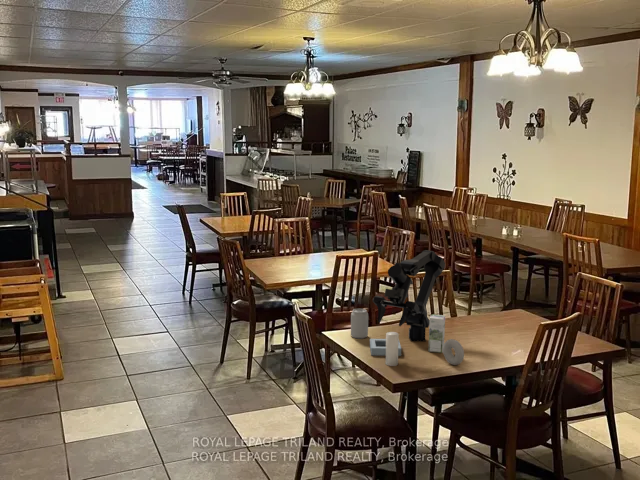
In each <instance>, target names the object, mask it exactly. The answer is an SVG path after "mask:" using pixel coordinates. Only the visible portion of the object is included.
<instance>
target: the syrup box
mask: <svg viewBox="0 0 640 480" xmlns="http://www.w3.org/2000/svg"><path fill="white" fill-rule="evenodd" d="M429 316H430V317H429V318H428V319H429V327H428V352H429V353H439V354H440V353H441V354H443V346H444V343H445V332H446V331H445V329H446V315H442V314H430V315H429Z"/></svg>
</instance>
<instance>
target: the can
mask: <svg viewBox="0 0 640 480" xmlns="http://www.w3.org/2000/svg"><path fill="white" fill-rule="evenodd" d="M368 335H369V313H368V310H367V309H365V308H353V309H352V312H351V313H350V336H351V337H352V338H354V339H357V340H358V339H359V340H361V339H362V340H363V339H365V338H367V337H368Z"/></svg>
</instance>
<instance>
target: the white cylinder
mask: <svg viewBox="0 0 640 480" xmlns="http://www.w3.org/2000/svg"><path fill="white" fill-rule="evenodd" d="M399 337H400V335H399V333H398V332H396V331H388V332H385V339H386V356H385V365H386V366H389V367H396V366H398V365H399V356H398V342H400V339H399Z"/></svg>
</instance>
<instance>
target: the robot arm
mask: <svg viewBox="0 0 640 480" xmlns="http://www.w3.org/2000/svg"><path fill="white" fill-rule="evenodd" d="M422 267H423V270H424V273H425V274H424V277H423V279H422V281H421V285H420V288H419V290H418V294H417V296H416V299H415V301H410V300H406V298H408V297H409V294H408V293H409V290H410V288H411V287H410V286H411V285H414V282H413V279H412V277H416V276H417V275H418V273H419V272H420V269H421V268H422ZM445 268H446V262H445V261H444V259H443V258H442V257H441V256H440V255H439V254H437V253H436V252H435V251H433V250H426V249H425V250H422V251H421V253H419V254H418V255H416V256H415V257H412V258H411V259H404V260H401V262H395V263H394V264H393V265H392V266H390V267H389V268H388V270H387V275H388V276H389V278H390V279H391V280H392V282H393V283H394V284H395V285H394V287H392V288H385V291H384V296H379V295H375V296H374V297H373V298H372V302H373V303H374V305H375V307H377V317H378V318H377V320H378V321H377V322H378V323H381V322H382V320H383V318H384V315H385V313H386V311H387V309H386V308H387V306H389V307H394V308H395V307H396V308H400V309H402V310H403V311H402V315H401V317H400V320H399V322H398V327H402V326H403V324H404V323H406V325H407V326H409V327H408V339H409V340H410V342H426V341H427V340H426V331H427V329H429V319H430V318H429V317H428V311H427V308H426V307H427V304H428V301H429V299H430V296H431V293H432V291H433V287H434V285H435V281H436V279H437V278H438V277H439V276H441V275H442V273H443V271H444V269H445ZM410 276H411V277H410ZM385 297H386V298H387V299H388V300H386V298H385ZM426 328H427V329H426Z"/></svg>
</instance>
